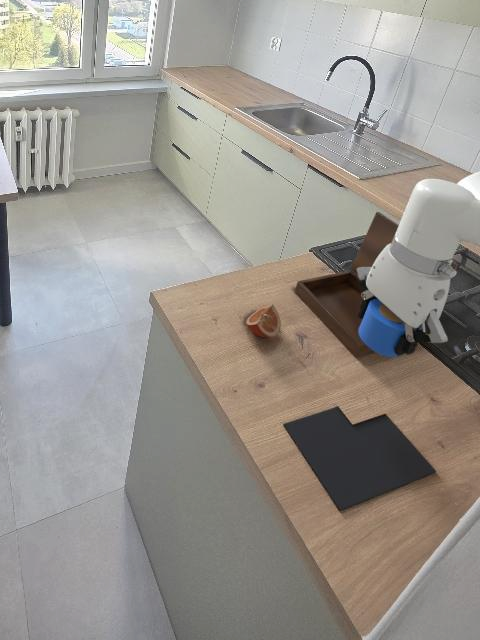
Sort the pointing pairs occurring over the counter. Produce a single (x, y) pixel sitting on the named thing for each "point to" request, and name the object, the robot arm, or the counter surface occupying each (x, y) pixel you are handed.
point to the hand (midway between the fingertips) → (383, 333)
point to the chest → (337, 306)
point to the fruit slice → (265, 322)
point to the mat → (357, 455)
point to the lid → (377, 242)
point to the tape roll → (381, 329)
